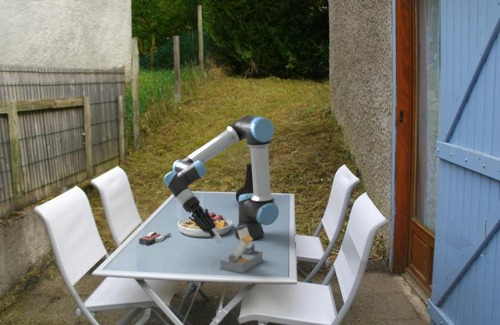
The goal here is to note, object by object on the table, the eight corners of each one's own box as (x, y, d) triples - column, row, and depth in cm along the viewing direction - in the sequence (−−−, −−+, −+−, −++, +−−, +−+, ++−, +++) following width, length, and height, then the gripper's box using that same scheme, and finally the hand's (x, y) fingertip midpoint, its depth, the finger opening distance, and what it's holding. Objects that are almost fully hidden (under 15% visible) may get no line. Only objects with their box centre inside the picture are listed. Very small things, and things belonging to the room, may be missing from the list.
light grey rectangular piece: (243, 253, 241) (235, 228, 242) (249, 249, 246) (241, 225, 246) (248, 252, 240) (241, 226, 240) (254, 248, 245) (246, 224, 245)
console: (220, 268, 233) (220, 253, 232) (241, 256, 250) (241, 242, 249) (242, 273, 228) (242, 257, 227) (262, 260, 245) (262, 245, 244)
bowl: (224, 241, 275) (224, 226, 273) (169, 237, 281) (169, 222, 279) (237, 225, 304) (237, 212, 303) (187, 222, 310) (187, 209, 308)
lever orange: (229, 257, 231) (242, 237, 227) (235, 254, 236) (248, 234, 231) (233, 261, 230) (247, 242, 226) (239, 258, 235) (253, 238, 230)
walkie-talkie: (151, 247, 264) (172, 236, 282) (151, 238, 263) (172, 228, 281) (136, 244, 267) (158, 234, 285) (136, 236, 266) (157, 226, 285)
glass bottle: (232, 207, 347) (232, 165, 343) (240, 201, 364) (240, 161, 360) (258, 209, 342) (258, 166, 337) (265, 203, 359) (266, 162, 354)
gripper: (191, 203, 248) (222, 242, 243) (175, 208, 236) (207, 250, 231) (201, 193, 244) (232, 233, 240) (185, 198, 233) (217, 240, 228)
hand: (220, 241), depth 235 cm, fingers closed
